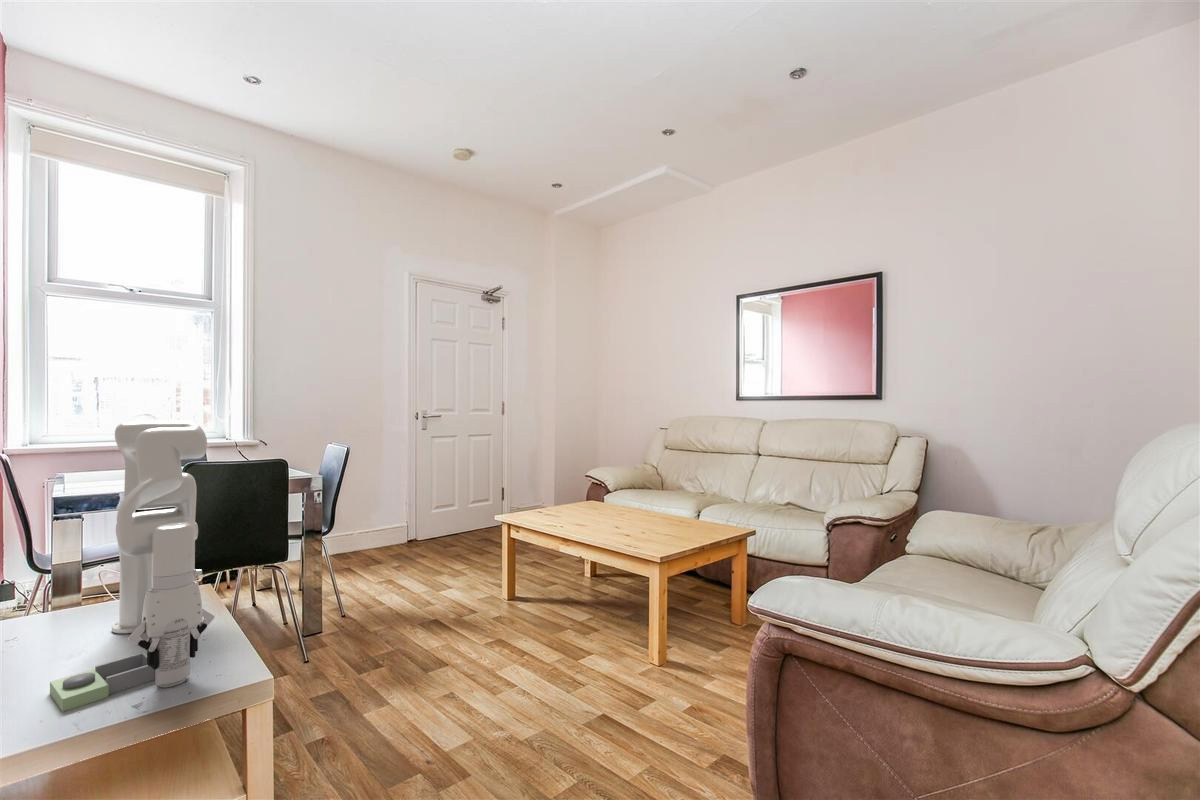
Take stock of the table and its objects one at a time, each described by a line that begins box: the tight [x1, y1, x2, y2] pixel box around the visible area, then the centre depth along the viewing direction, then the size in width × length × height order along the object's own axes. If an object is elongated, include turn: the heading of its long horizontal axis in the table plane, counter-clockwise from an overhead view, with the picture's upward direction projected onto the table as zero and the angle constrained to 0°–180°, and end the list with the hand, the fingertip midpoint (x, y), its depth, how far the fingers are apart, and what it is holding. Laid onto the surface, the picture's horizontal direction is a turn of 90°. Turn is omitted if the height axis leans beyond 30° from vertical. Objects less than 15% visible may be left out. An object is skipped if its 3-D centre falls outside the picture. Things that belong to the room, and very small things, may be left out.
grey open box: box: [49, 651, 155, 713], centre depth 119 cm, size 12×16×4 cm
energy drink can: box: [154, 618, 191, 688], centre depth 121 cm, size 6×6×15 cm
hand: (172, 660), depth 121 cm, fingers closed on energy drink can, 6 cm apart
